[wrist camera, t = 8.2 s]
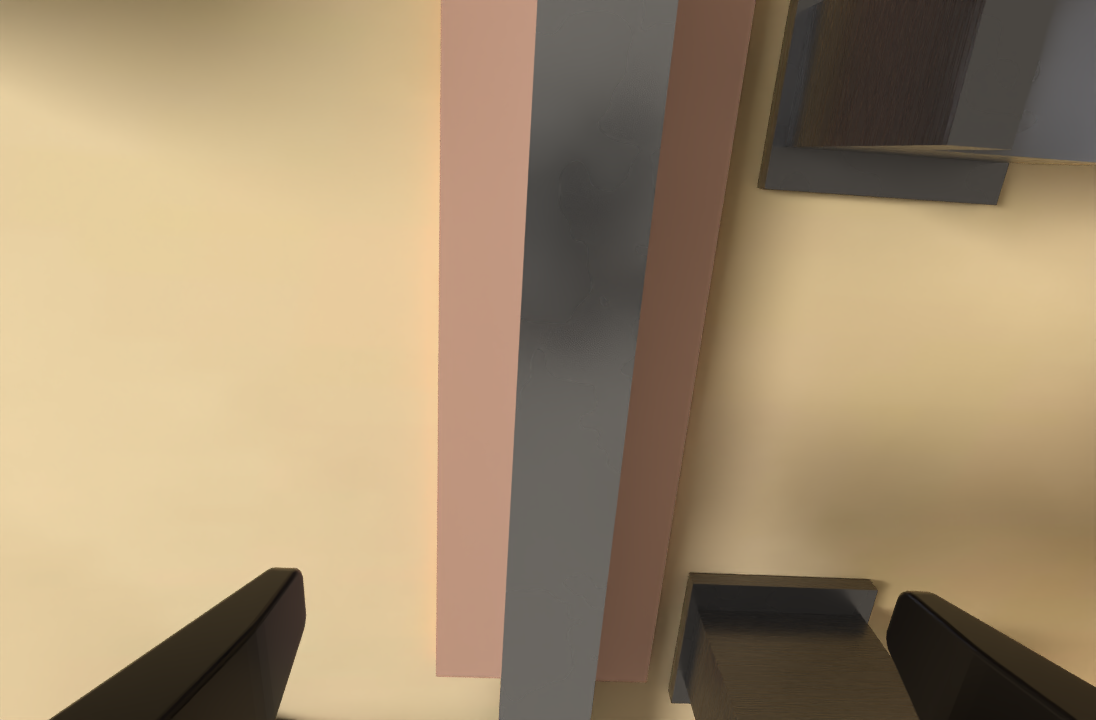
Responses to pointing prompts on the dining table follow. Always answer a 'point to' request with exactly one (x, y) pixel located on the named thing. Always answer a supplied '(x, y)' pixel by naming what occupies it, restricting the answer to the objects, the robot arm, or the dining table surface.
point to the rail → (578, 334)
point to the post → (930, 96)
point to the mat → (495, 308)
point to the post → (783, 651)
